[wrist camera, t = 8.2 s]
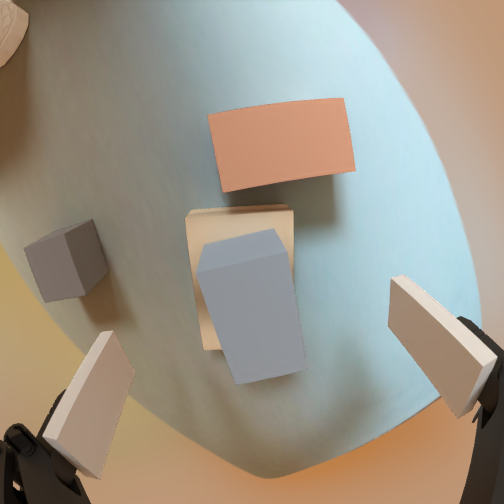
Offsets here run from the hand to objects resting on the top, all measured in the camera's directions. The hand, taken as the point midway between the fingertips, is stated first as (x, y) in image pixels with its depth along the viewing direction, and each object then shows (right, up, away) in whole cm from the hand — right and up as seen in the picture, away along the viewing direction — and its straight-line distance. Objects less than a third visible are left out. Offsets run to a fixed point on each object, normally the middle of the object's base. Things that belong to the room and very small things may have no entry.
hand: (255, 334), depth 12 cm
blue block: (0, +1, +5) cm, 5 cm away
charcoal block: (-13, +4, +6) cm, 15 cm away
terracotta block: (+1, +10, +5) cm, 11 cm away
